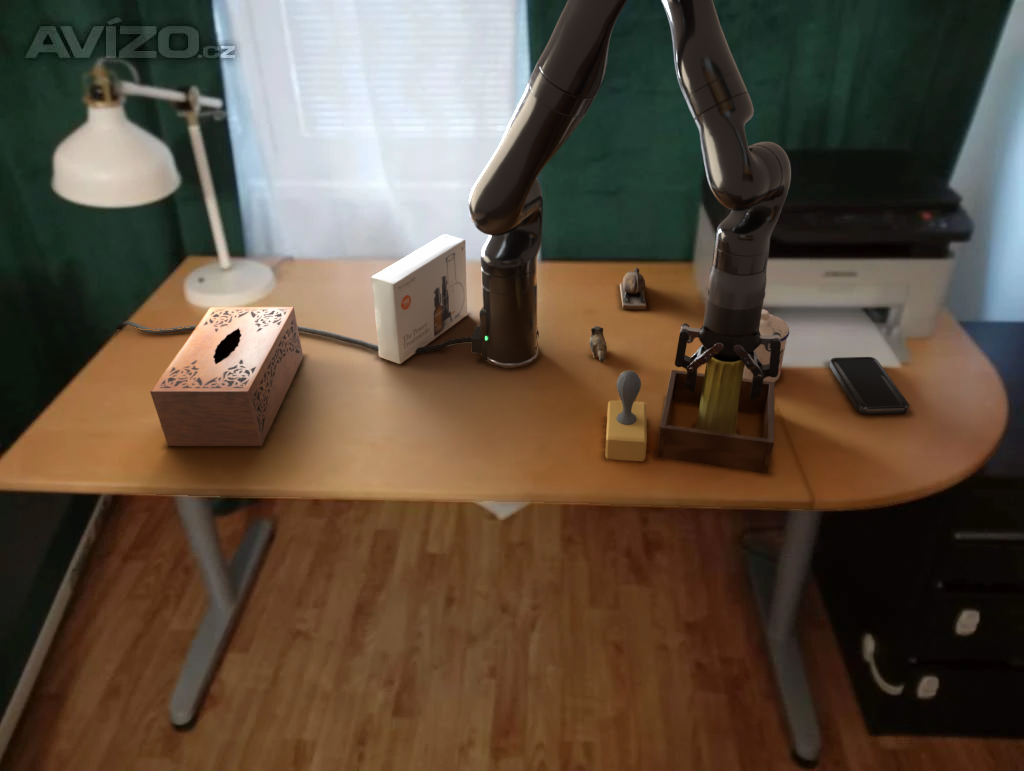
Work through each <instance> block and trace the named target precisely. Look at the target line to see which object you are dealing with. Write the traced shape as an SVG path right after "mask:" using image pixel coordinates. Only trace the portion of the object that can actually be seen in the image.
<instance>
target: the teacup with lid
mask: <svg viewBox="0 0 1024 771" xmlns="http://www.w3.org/2000/svg"><path fill="white" fill-rule="evenodd" d="M759 332H760V334H761V335H772V334H773V333H775V332H778V333H780V334H781V349H780V359H779V369H778V376H777V377H775V378H772V377H766V378H764V380H763V381H769V382H775V383H776V381H778V380H779V379H780V376H781V371H782V366H783V361H784V355H785V349H786V344H787V339H788V337H789V335H790V327H789V326H788V323H786V321H785V320H784V319H782V318H781V317H779V316H776V315H774V314H770V312H769V310H767V309H764V308H762V314H761V320H760V327H759ZM754 351H755V352H756V354H757V357H758V358H759V360H760V361H761V363H762V364H763V365H766V364H769V361H770V352H768V351H767V350H766V349H765V346H764V345H763V344H760V345H759V347H757V348H756V349H755V350H754ZM743 378H744V379H752V378H753V374H752V372H751V371H750V370H748V369H747V367H746V366H744V372H743Z"/></svg>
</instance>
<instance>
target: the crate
mask: <svg viewBox="0 0 1024 771" xmlns="http://www.w3.org/2000/svg"><path fill="white" fill-rule="evenodd" d="M704 376H705V373H701V372H697V379H696V387H695V393H690V389H687V388H686V378H687V371H685V370H676V369H671V371H670V375H669V381H668V385H667V391H666V395H665V400H664V406H663V411H662V415H661V420H660V424H659V431H658V443H657V454H656V458H659V459H667V460H673V461H680V462H687V463H694V464H700V465H706V466H714V467H721V468H729V469H734V470H741V471H742V470H743V471H750V472H755V473H762V474H769V471H770V466H771V465H770V464H771V460H772V455H773V450H774V444H775V386H776V385H775V384H776V381H775V382H769V381H763V385H762V391H761V395H760V396H759V397H755V400H750V391H751V385H752V379H744V378H742V384H741V390H740V397H739V403H738V411H744V412H752V413H759V414H763V431H762V432H763V433H762V437H757V436H750V435H744V434H737V433H736V434H729V433H722V432H714V431H707V430H699V429H695V428H691V427H686V426H685V427H684V426H677V425H669V424H670V421H671V417H672V416H671V415H672V410H673V405H674V403H680V404H689V405H690V404H691V405H698V406H700V401H701V395H702V388H703V382H704Z"/></svg>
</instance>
